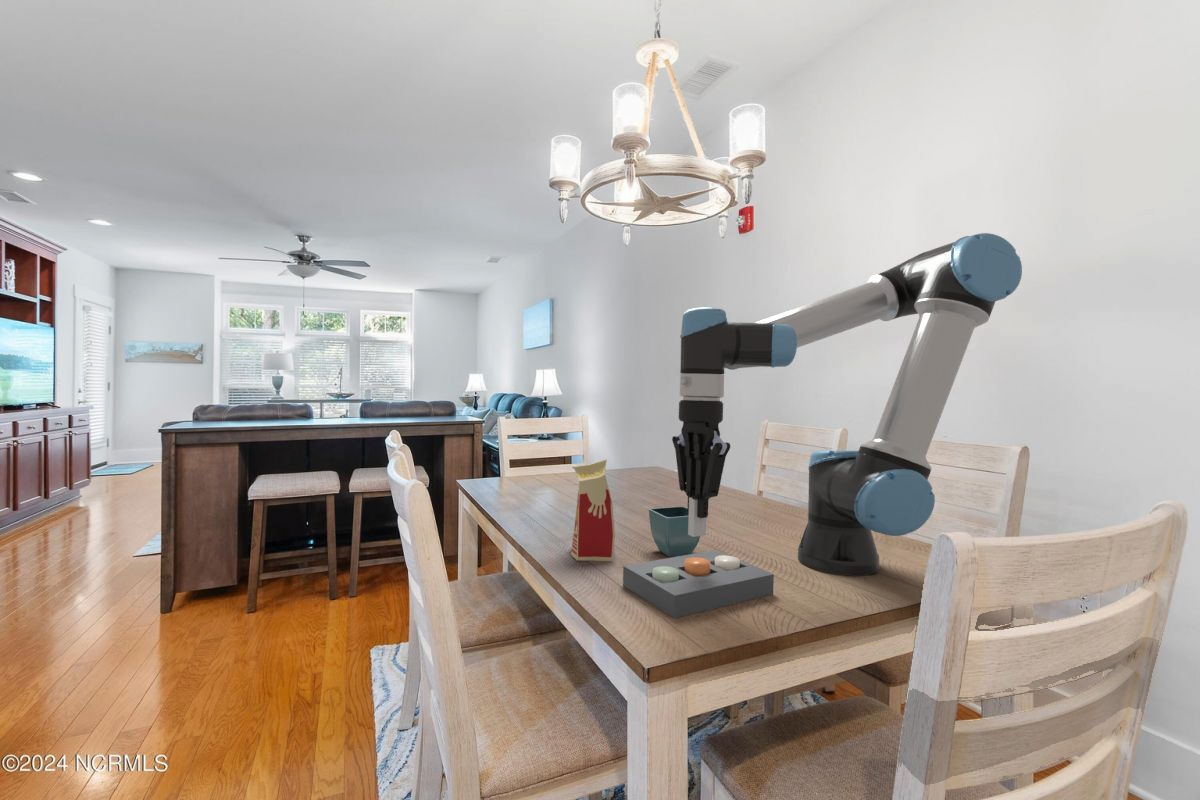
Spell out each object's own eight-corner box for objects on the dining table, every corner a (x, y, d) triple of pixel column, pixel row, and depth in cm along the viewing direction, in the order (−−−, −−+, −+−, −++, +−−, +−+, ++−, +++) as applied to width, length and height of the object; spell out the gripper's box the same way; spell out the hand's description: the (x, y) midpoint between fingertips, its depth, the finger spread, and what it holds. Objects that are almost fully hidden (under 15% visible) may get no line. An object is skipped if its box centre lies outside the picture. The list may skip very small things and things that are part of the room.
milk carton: (613, 547, 118) (614, 456, 117) (615, 561, 108) (617, 462, 108) (571, 547, 117) (572, 455, 117) (570, 561, 108) (571, 461, 108)
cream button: (727, 568, 100) (728, 554, 100) (744, 575, 96) (745, 561, 96) (709, 571, 98) (709, 557, 98) (725, 579, 94) (726, 564, 94)
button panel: (714, 567, 106) (715, 550, 106) (773, 594, 93) (773, 574, 92) (623, 585, 96) (623, 565, 95) (674, 618, 82) (674, 595, 82)
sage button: (668, 579, 94) (668, 564, 94) (683, 588, 90) (684, 572, 90) (647, 583, 92) (647, 568, 92) (662, 592, 88) (662, 576, 88)
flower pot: (646, 549, 117) (647, 508, 117) (682, 545, 120) (683, 505, 120) (665, 561, 109) (666, 517, 109) (703, 557, 112) (704, 514, 112)
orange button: (699, 570, 97) (699, 556, 97) (715, 578, 93) (715, 563, 93) (679, 574, 95) (679, 559, 95) (695, 582, 91) (695, 567, 91)
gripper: (661, 397, 97) (657, 528, 98) (709, 400, 86) (704, 547, 86) (694, 398, 101) (690, 523, 101) (744, 400, 89) (739, 542, 90)
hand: (696, 534), depth 94 cm, fingers closed
